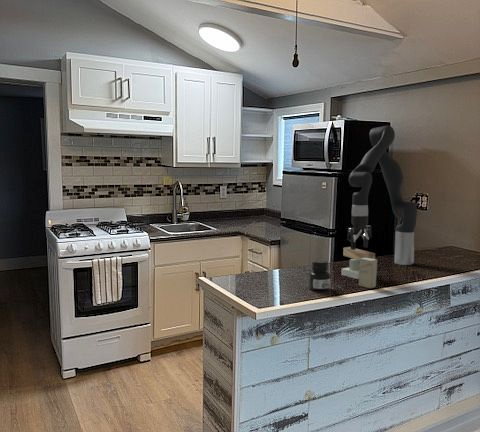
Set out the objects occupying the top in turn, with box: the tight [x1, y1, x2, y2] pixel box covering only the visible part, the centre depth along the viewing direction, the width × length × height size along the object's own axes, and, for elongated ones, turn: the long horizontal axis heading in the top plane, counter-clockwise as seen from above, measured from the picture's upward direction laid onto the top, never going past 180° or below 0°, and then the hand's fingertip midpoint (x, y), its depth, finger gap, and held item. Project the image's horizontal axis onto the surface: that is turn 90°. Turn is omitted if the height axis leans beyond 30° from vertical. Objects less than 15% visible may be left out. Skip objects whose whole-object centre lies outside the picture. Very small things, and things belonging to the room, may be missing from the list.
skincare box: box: [358, 257, 378, 289], centre depth 199 cm, size 6×4×12 cm
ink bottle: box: [308, 259, 331, 292], centre depth 195 cm, size 10×9×12 cm
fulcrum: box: [340, 258, 360, 280], centre depth 219 cm, size 12×10×8 cm
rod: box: [342, 246, 376, 260], centre depth 218 cm, size 4×18×4 cm, turn 25°
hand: (359, 248), depth 218 cm, fingers open, 8 cm apart
